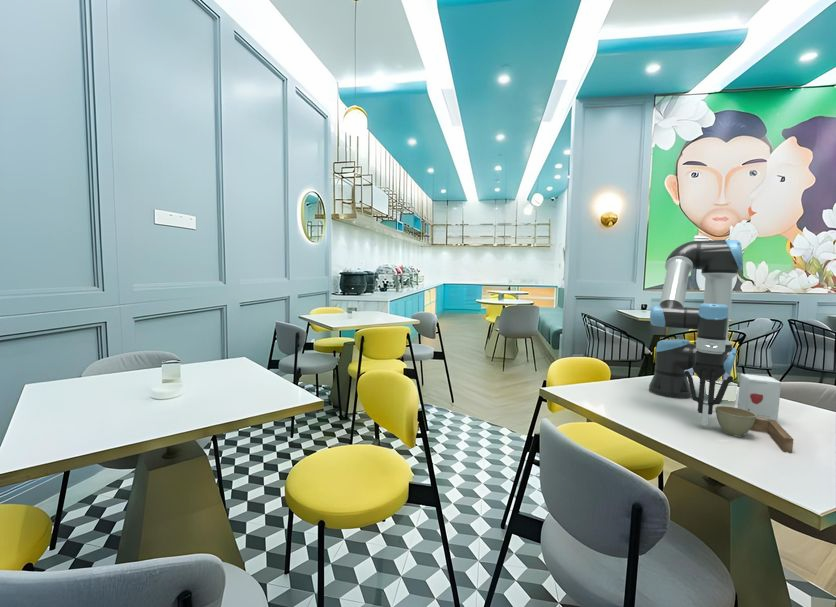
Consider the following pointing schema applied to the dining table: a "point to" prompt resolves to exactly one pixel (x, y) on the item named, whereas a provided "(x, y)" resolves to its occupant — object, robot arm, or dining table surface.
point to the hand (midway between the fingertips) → (703, 423)
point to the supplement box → (759, 395)
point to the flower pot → (735, 420)
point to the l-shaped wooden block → (774, 433)
